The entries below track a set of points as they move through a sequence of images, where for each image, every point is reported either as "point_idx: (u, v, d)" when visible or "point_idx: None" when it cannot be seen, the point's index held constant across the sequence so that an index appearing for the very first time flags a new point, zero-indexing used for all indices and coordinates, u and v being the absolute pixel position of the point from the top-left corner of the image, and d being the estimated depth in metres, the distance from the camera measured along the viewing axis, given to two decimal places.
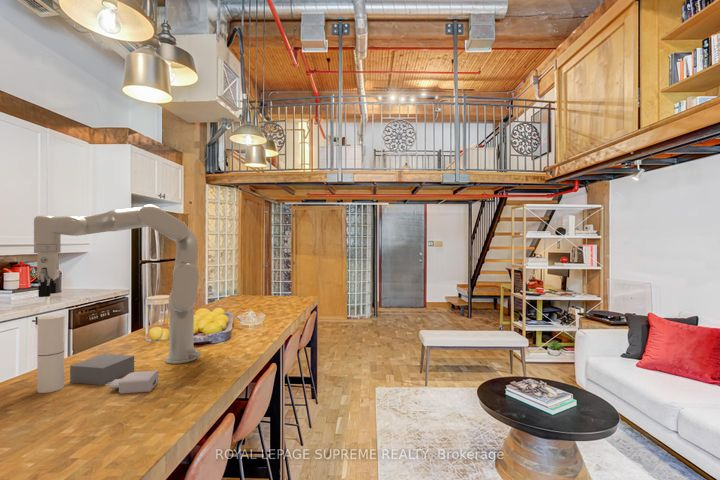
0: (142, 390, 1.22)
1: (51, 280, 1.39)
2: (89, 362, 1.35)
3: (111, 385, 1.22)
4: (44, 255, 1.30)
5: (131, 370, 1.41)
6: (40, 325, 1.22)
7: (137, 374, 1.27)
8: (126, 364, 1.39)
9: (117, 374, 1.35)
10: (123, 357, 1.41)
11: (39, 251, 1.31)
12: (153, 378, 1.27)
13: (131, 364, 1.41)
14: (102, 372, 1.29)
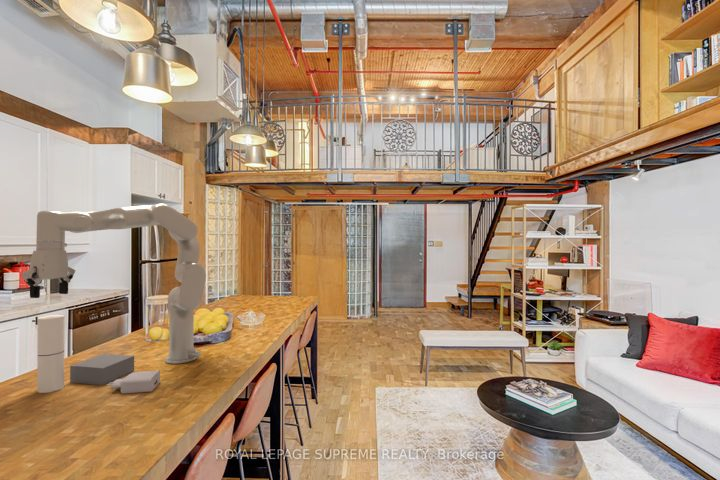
0: (144, 390, 1.23)
1: None
2: (89, 362, 1.35)
3: (113, 385, 1.22)
4: None
5: (131, 370, 1.41)
6: (40, 325, 1.22)
7: (139, 374, 1.27)
8: (126, 364, 1.39)
9: (117, 374, 1.35)
10: (123, 357, 1.41)
11: None
12: (155, 378, 1.27)
13: (131, 364, 1.41)
14: (102, 372, 1.29)
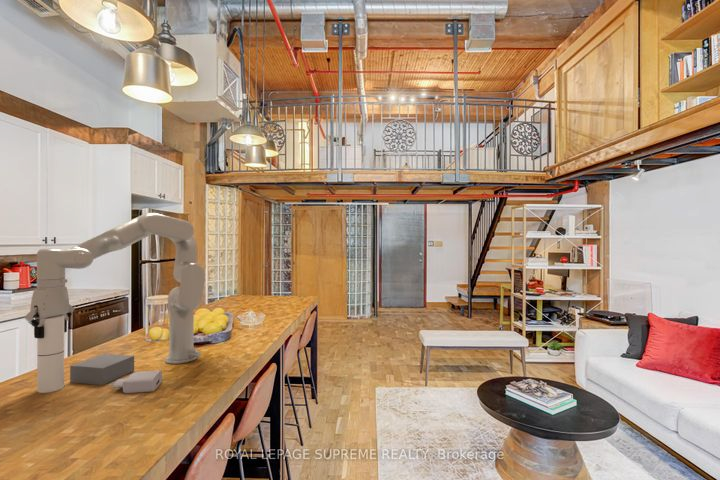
0: (146, 390, 1.23)
1: None
2: (89, 362, 1.35)
3: (115, 385, 1.23)
4: None
5: (131, 370, 1.41)
6: None
7: (141, 373, 1.28)
8: (126, 364, 1.39)
9: (117, 374, 1.35)
10: (123, 357, 1.41)
11: None
12: (157, 378, 1.27)
13: (131, 364, 1.41)
14: (102, 372, 1.29)
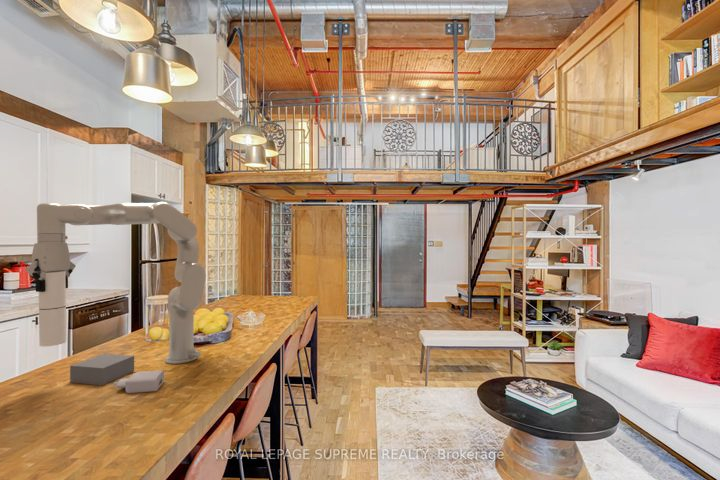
0: (149, 389, 1.23)
1: None
2: (89, 362, 1.35)
3: (118, 385, 1.23)
4: None
5: (131, 370, 1.41)
6: None
7: (143, 373, 1.28)
8: (126, 364, 1.39)
9: (117, 374, 1.35)
10: (123, 357, 1.41)
11: None
12: (160, 378, 1.28)
13: (131, 364, 1.41)
14: (102, 372, 1.29)
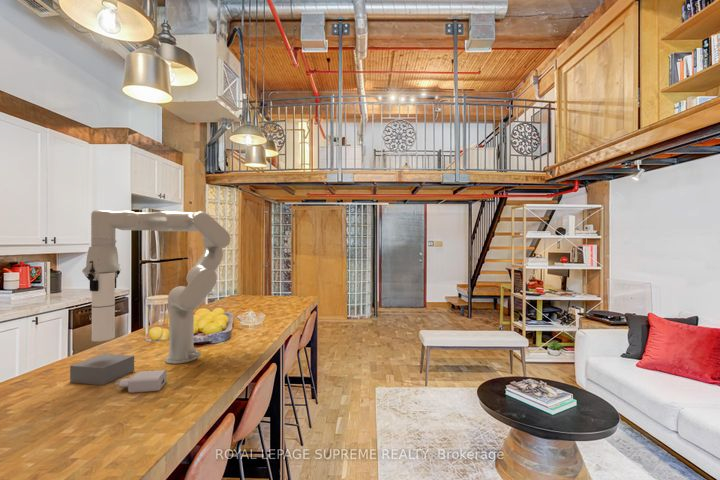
0: (151, 389, 1.23)
1: None
2: (89, 362, 1.35)
3: (120, 384, 1.23)
4: None
5: (131, 370, 1.41)
6: None
7: (146, 373, 1.28)
8: (126, 364, 1.39)
9: (117, 374, 1.35)
10: (123, 357, 1.41)
11: None
12: (162, 377, 1.28)
13: (131, 364, 1.41)
14: (102, 372, 1.29)
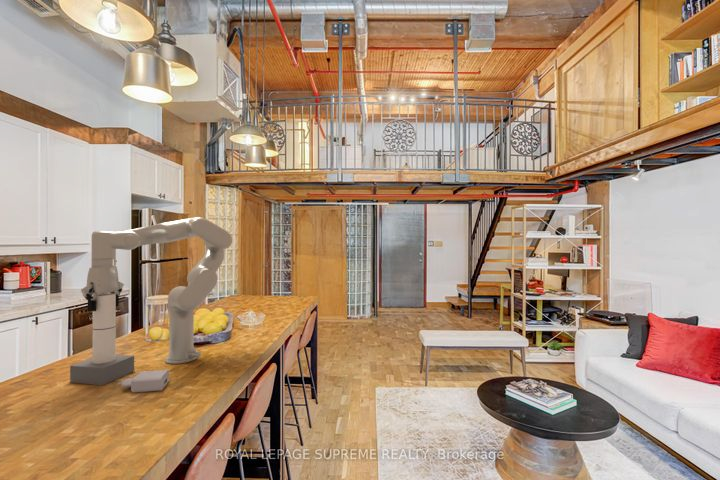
0: (154, 389, 1.24)
1: None
2: (89, 362, 1.35)
3: (123, 384, 1.23)
4: None
5: (131, 370, 1.41)
6: None
7: (149, 373, 1.28)
8: (126, 364, 1.39)
9: (117, 374, 1.35)
10: (123, 357, 1.41)
11: None
12: (165, 377, 1.28)
13: (131, 364, 1.41)
14: (102, 372, 1.29)
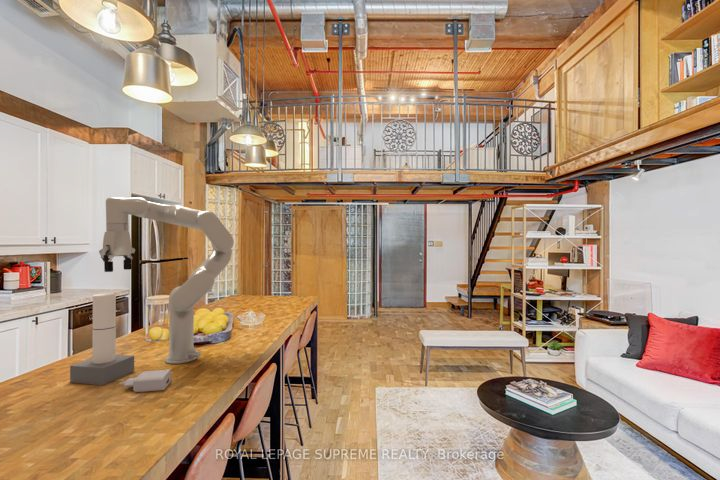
0: (156, 388, 1.24)
1: None
2: (89, 362, 1.35)
3: (125, 384, 1.24)
4: None
5: (131, 370, 1.41)
6: (95, 301, 1.34)
7: (151, 373, 1.28)
8: (126, 364, 1.39)
9: (117, 374, 1.35)
10: (123, 357, 1.41)
11: None
12: (167, 377, 1.28)
13: (131, 364, 1.41)
14: (102, 372, 1.29)
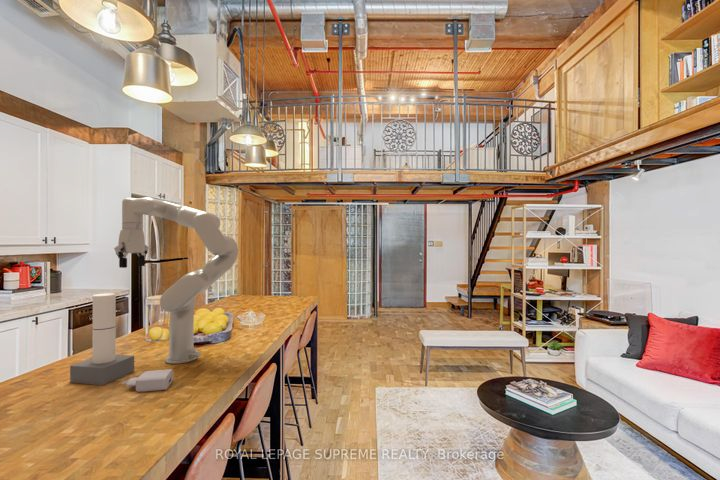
0: (159, 388, 1.24)
1: None
2: (89, 362, 1.35)
3: (128, 383, 1.24)
4: None
5: (131, 370, 1.41)
6: (95, 301, 1.34)
7: (153, 372, 1.29)
8: (126, 364, 1.39)
9: (117, 374, 1.35)
10: (123, 357, 1.41)
11: None
12: (169, 376, 1.29)
13: (131, 364, 1.41)
14: (102, 372, 1.29)
